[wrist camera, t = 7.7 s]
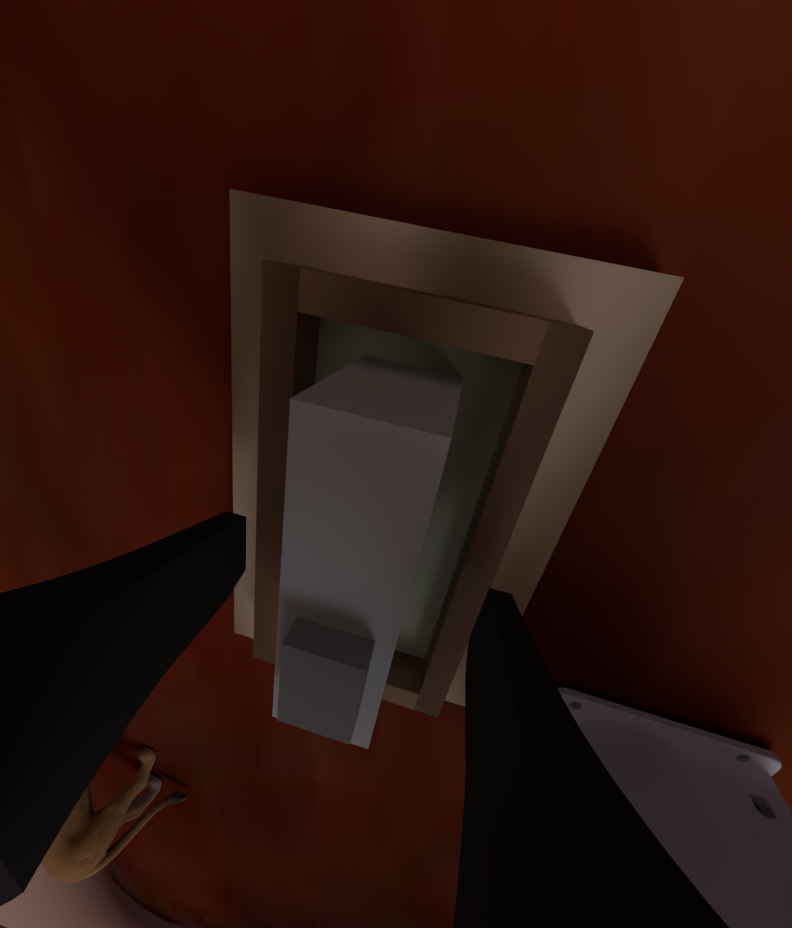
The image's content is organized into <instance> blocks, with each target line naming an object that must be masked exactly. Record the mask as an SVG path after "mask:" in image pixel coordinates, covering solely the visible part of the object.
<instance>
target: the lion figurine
mask: <svg viewBox="0 0 792 928" xmlns="http://www.w3.org/2000/svg"><path fill="white" fill-rule="evenodd" d="M155 757H156V755H155V753H154V751H153V750H152V749H150V748H148V747H145V748H142V749H141V750H140V751H139V753H138V758H139V759H140V761H141V768H140V771H139V773H138V775H137V777H136V778H135V779H134V781H133V782H132V783H131V784H130V785H129V786H128V787H127V788H126V789H124V790H123V791H122V792H121V793H120V794H118V795H117V796H116V797H115V798H114V799H112V800H111V801H110V802H109V803H108V804H107V805H106V806H105V807H104V808H103V809H101V810H99V811H97V812H94V810H93V807H92V800H91V791H90V788H89V786H88V787H87V788H86V790H85V791H84V793H83V795H82V796H81V798H80V799H79V801H78V802H77V804H76V805H75V807H74V809H73V810H72V812H71V813H70V815H69V817H68V818H67V820H66V822H65V823H64V825H63V827H62V828H61V830H60V832H59V833H58V835H57V837H56V838H55V840H54V841H53V843H52V845H51V846H50V848H49V850H48V851H47V853H46V855H45V856H44V858H43V860H42V863H43V865H44V866H45V868H46V870H47V871H48V873H49V874H50V875H51V876H53V877H54V878H55V879H57V880H59V881H62V882H68V883H72V882H77V881H80V880H83V879H85V878H88V877H90V876H92V875H93V874H95V873H97V872H98V871H99V870H101V869H102V868H103V867H104V866H106V865H107V864H108V863H109V862H110V861H111V860H112V859H113V858H114V857H115V856H116V855H117V854H118V853H119V852H120V851H121V850H122V849H123V848H124V847H125V846H126V845H127V844H128V843H129V842H130V840H131V839H132V838H133V837H134V836H135V835H136V834H137V832H138V831H139V830H140V829H141V828H142V827H143V826H144V825H145V824H146V823H147V822H148V820H149V819H150V818H151V817H152V816H153V815H154V814H155V813H157V812H158V811H159V810H161V809H162V808H163V807H165V806H167V805H170V804H174V803H178V802H180V801H183V800H185V799H186V798H187V796H186V795H185V794H183V793H182V792H175V793H172V794H170V795H168V796H166V797H165V798H163V799H162V800H161V801H160V802H158V803H157V804H156V805H155V806H153V807H152V808H151V809H150V810H149V811H148V812H147V813H146V814H145V815H144V816H142V817H141V818H140V819H139V820H138V821H137V822H136V823H135V824H134V825H133V826H132V827H131V828H130V829H129V830H128V831H127V832H126V833H125V834H124V835H123V836H122V837H121V838H120V839H119V840H118V841H117V842H116V843H115V844H114V845H113V846H112V847H111V848H110V849H109V850H108V851H107V849H108V847H109V846H110V844H111V842H112V840H113V839H114V837H115V835H116V833H117V831H118V829H119V827H120V826H121V825H122V824H124V823H125V822H127V821H129V820H132V819H134V818H137V817H138V816H139V815H140V814H141V813H142V812H143V811H144V810H145V808H146V807H147V806H148V805H149V804H150V802H151V801H152V800H153V799H154V798H155V796H156V795H157V794H158V792H159V790H160V788H161V784H162V783H161V781H160V780H159V779H158V778H157V777H156V776H154V775H149V774H150V771H151V768H152V766H153V764H154V761H155ZM145 786H147V791H146V793H145V794H144V795H143V796H141V797H140V798H138V799H135V800H133V799H134V798H135V796H136V795H137V794H138V793H139V792H140V791H142V789H143V788H144V787H145ZM132 800H133V801H132Z"/></svg>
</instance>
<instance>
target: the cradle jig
mask: <svg viewBox="0 0 792 928" xmlns="http://www.w3.org/2000/svg"><path fill="white" fill-rule="evenodd" d="M230 275H231V362H232V450H233V513H235V514H238V515H242V516H245V517H246V570H245V572H244V573H243V575H242V577H241V578H240V580H239V581H238V583H237V585H236V586H235V588H234V625H235V633H238V634H241V635H244V636H247V637H250V638H253V639H254V644H253V657H255V658H258V659H261V660H264V661H267V662H270V663H273V664H275V661H276V643H277V625H278V607H279V590H280V572H281V554H282V536H283V518H284V500H285V482H286V465H287V447H288V429H289V411H290V398H292V397H294V396H295V395H297V394H299V393H301V392H302V391H304V390H306V389H308V388H309V387H311V386H313V385H314V384H316V383H318V382H320V381H321V380H323V379H325V378H327V377H328V376H330V375H332V374H334V373H335V372H337V371H339V370H340V369H342V368H344V367H346V366H347V365H349V364H351V363H353V362H354V361H356V360H358V359H360V358H361V357H363V356H365V355H366V356H371V357H375V358H380V359H384V360H388V361H393V362H397V363H401V364H406V365H410V366H414V367H419V368H423V369H428V370H432V371H436V372H441V373H445V374H449V375H454V376H458V377H462V378H463V383H462V389H461V394H460V399H459V404H458V409H457V414H456V419H455V424H454V429H453V434H452V439H451V443H450V447H449V450H448V454H447V458H446V461H445V465H444V469H443V472H442V476H441V480H440V484H439V487H438V491H437V495H436V498H435V502H434V506H433V510H432V513H431V517H430V521H429V524H428V528H427V532H426V536H425V539H424V543H423V547H422V550H421V554H420V558H419V562H418V565H417V569H416V573H415V576H414V580H413V584H412V588H411V591H410V595H409V599H408V602H407V606H406V610H405V614H404V617H403V621H402V625H401V628H400V632H399V636H398V639H397V643H396V647H395V651H394V654H393V658H392V662H391V665H390V669H389V673H388V677H387V680H386V684H385V688H384V691H383V695H382V699H383V700H386V701H389V702H392V703H395V704H398V705H401V706H404V707H407V708H410V709H413V710H416V711H420V712H423V713H426V714H429V715H432V716H435V717H438V716H439V713H440V711H441V708H442V706H443V704H444V701H445V700H446V701H449V702H452V703H455V704H458V705H461V706H464V707H465V672H466V662H467V652H468V643H469V637H470V635H471V632H472V630H473V627H474V625H475V622H476V620H477V617H478V615H479V612H480V610H481V607H482V605H483V602H484V600H485V597H486V595H487V592H488V590H489V588H493V589H496V590H500V591H503V592H507V593H510V594H512V595H513V597H514V599H515V601H516V604H517V606H518V608H519V611H520V613H521V615H523V613H524V611H525V609H526V607H527V605H528V603H529V601H530V599H531V597H532V595H533V592H534V590H535V588H536V586H537V584H538V582H539V580H540V578H541V576H542V574H543V572H544V569H545V567H546V565H547V563H548V561H549V559H550V557H551V555H552V553H553V551H554V549H555V546H556V544H557V542H558V540H559V538H560V536H561V534H562V532H563V530H564V528H565V526H566V523H567V521H568V519H569V517H570V515H571V513H572V511H573V509H574V507H575V505H576V503H577V501H578V498H579V496H580V494H581V492H582V490H583V488H584V486H585V484H586V482H587V480H588V478H589V475H590V473H591V471H592V469H593V467H594V465H595V463H596V461H597V459H598V457H599V455H600V452H601V450H602V448H603V446H604V444H605V442H606V440H607V438H608V436H609V434H610V432H611V429H612V427H613V425H614V423H615V421H616V419H617V417H618V415H619V413H620V411H621V409H622V406H623V404H624V402H625V400H626V398H627V396H628V394H629V392H630V390H631V388H632V386H633V383H634V381H635V379H636V377H637V375H638V373H639V371H640V369H641V367H642V365H643V363H644V361H645V358H646V356H647V354H648V352H649V350H650V348H651V346H652V344H653V342H654V340H655V338H656V335H657V333H658V331H659V329H660V327H661V325H662V323H663V321H664V319H665V317H666V315H667V312H668V310H669V308H670V306H671V304H672V302H673V300H674V298H675V296H676V294H677V292H678V289H679V287H680V285H681V283H682V281H683V279H684V278H683V277H678V276H673V275H668V274H663V273H658V272H653V271H648V270H643V269H637V268H632V267H627V266H622V265H617V264H612V263H607V262H602V261H597V260H592V259H586V258H581V257H576V256H571V255H566V254H561V253H556V252H551V251H546V250H540V249H535V248H530V247H525V246H520V245H515V244H510V243H505V242H500V241H495V240H489V239H484V238H479V237H474V236H469V235H464V234H459V233H454V232H449V231H444V230H438V229H433V228H428V227H423V226H418V225H413V224H408V223H403V222H398V221H393V220H387V219H382V218H377V217H372V216H367V215H362V214H357V213H352V212H347V211H342V210H336V209H331V208H326V207H321V206H316V205H311V204H306V203H301V202H296V201H291V200H285V199H280V198H275V197H270V196H265V195H260V194H255V193H250V192H245V191H240V190H234V189H230Z"/></svg>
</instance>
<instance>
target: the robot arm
mask: <svg viewBox="0 0 792 928" xmlns="http://www.w3.org/2000/svg"><path fill="white" fill-rule="evenodd" d="M245 570H246V517H245V516H242V515H238V514H235V513H232V512H228V511H227V512H224V513H222V514H219V515H217V516H214V517H212V518H210V519H207V520H205V521H203V522H200V523H198V524H196V525H194V526H191V527H189V528H187V529H185V530H182V531H180V532H178V533H175V534H173V535H171V536H168V537H166V538H164V539H161V540H159V541H157V542H154V543H152V544H149V545H147V546H144V547H142V548H139V549H137V550H134V551H132V552H129V553H126V554H124V555H121V556H119V557H116V558H114V559H111V560H108V561H106V562H103V563H100V564H97V565H94V566H91V567H89V568H86V569H83V570H80V571H76V572H73V573H70V574H67V575H64V576H61V577H57V578H54V579H51V580H48V581H44V582H41V583H37V584H33V585H29V586H25V587H22V588H18V589H14V590H10V591H7V592H3V593H0V906H1V905H3V904H5V903H7V902H9V901H11V900H12V899H14V898H16V897H17V896H18V895H20V894H21V893H23V892H24V890H25V889H26V887H27V885H28V883H29V882H30V880H31V878H32V876H33V875H34V873H35V871H36V870H37V868H38V866H39V865H40V863H41V861H42V860H43V858H44V856H45V855H46V853H47V851H48V850H49V848H50V846H51V845H52V843H53V841H54V840H55V838H56V837H57V835H58V833H59V832H60V830H61V828H62V827H63V825H64V823H65V822H66V820H67V818H68V817H69V815H70V813H71V812H72V810H73V809H74V807H75V805H76V804H77V802H78V801H79V799H80V798H81V796H82V795H83V793H84V791H85V790H86V788H87V787H88V785H89V784H90V782H91V780H92V779H93V777H94V776H95V774H96V773H97V771H98V769H99V768H100V766H101V765H102V763H103V762H104V760H105V759H106V757H107V756H108V754H109V753H110V751H111V750H112V748H113V747H114V745H115V744H116V742H117V741H118V739H119V738H120V736H121V735H122V733H123V732H124V730H125V729H126V727H127V726H128V724H129V723H130V721H131V720H132V719H133V717H134V716H135V714H136V713H137V711H138V710H139V709H140V707H141V706H142V704H143V703H144V702H145V700H146V699H147V697H148V696H149V694H150V693H151V692H152V690H153V689H154V687H155V686H156V684H157V683H158V682H159V681H160V679H161V678H162V677H163V675H164V674H165V673H166V672H167V670H168V669H169V668H170V667H171V665H172V664H173V663H174V662H175V661H176V659H177V658H178V657H179V656H180V655H181V654H182V652H183V651H184V650H185V649H186V648H187V646H188V645H189V644H190V643H191V642H192V641H193V639H194V638H195V637H196V636H197V635H198V633H199V632H200V631H201V630H202V629H203V627H204V626H205V625H206V624H207V623H208V622H209V620H210V619H211V618H212V617H213V616H214V614H215V613H216V612H217V611H218V609H219V608H220V607H221V606H222V605H223V603H224V602H225V601H226V600H227V598H228V597H229V595H230V594H231V592H232V591H233V589H234V588H235V586H236V585H237V583H238V581H239V580H240V578H241V577H242V575H243V573H244V572H245ZM465 736H466V779H465V800H464V814H463V827H462V840H461V852H460V864H459V875H458V887H457V898H456V908H455V918H454V928H792V812H791V810H790V808H789V807H788V805H787V803H786V802H785V800H784V798H783V797H782V795H781V793H780V791H779V790H778V788H777V786H776V785H775V783H774V781H773V780H772V778H771V776H772V775H774V774H775V773H776V772H777V771H778V770H780V768H781V767H782V764H781V762H780V760H779V759H778V757H777V756H776V754H775V753H773V752H771V751H769V750H766V749H763V748H759V747H756V746H753V745H750V744H746V743H743V742H740V741H737V740H734V739H730V738H727V737H724V736H721V735H717V734H714V733H711V732H708V731H704V730H701V729H698V728H695V727H691V726H688V725H685V724H682V723H679V722H675V721H672V720H669V719H666V718H662V717H659V716H656V715H653V714H649V713H646V712H643V711H640V710H637V709H633V708H630V707H627V706H624V705H620V704H617V703H614V702H611V701H607V700H604V699H601V698H598V697H594V696H591V695H588V694H585V693H582V692H578V691H575V690H572V689H569V688H565V687H558V688H557V687H556V685H555V683H554V681H553V680H552V678H551V676H550V674H549V672H548V670H547V668H546V666H545V664H544V662H543V660H542V658H541V656H540V654H539V652H538V650H537V648H536V646H535V644H534V642H533V640H532V637H531V635H530V633H529V631H528V629H527V626H526V624H525V622H524V620H523V618H522V615H521V613H520V611H519V608H518V606H517V604H516V601H515V599H514V597H513V595H512V594H510V593H507V592H503V591H500V590H496V589H493V588H489V590H488V592H487V595H486V597H485V600H484V602H483V605H482V607H481V610H480V612H479V615H478V617H477V620H476V622H475V625H474V627H473V630H472V632H471V635H470V637H469V643H468V652H467V662H466V672H465ZM0 928H6V927H4V926H1V925H0Z"/></svg>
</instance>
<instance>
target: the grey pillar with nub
mask: <svg viewBox="0 0 792 928" xmlns="http://www.w3.org/2000/svg"><path fill="white" fill-rule="evenodd" d="M462 383H463V378H462V377H458V376H454V375H449V374H445V373H441V372H436V371H432V370H428V369H423V368H419V367H414V366H410V365H406V364H401V363H397V362H393V361H388V360H384V359H380V358H375V357H371V356H366V355H365V356H363V357H361V358H360V359H358V360H356V361H354V362H353V363H351V364H349V365H347V366H346V367H344V368H342V369H340V370H339V371H337V372H335V373H334V374H332V375H330V376H328V377H327V378H325V379H323V380H321V381H320V382H318V383H316V384H314V385H313V386H311V387H309V388H308V389H306V390H304V391H302V392H301V393H299V394H297V395H295V396H294V397H292V398H290V411H289V429H288V447H287V465H286V482H285V500H284V518H283V536H282V554H281V572H280V590H279V607H278V625H277V643H276V661H275V679H274V697H273V715H272V717H275V718H277V720H278V721H281V722H284V723H287V724H290V725H293V726H296V727H299V728H302V729H304V730H307V731H310V732H313V733H316V734H319V735H322V736H325V737H328V738H331V739H334V740H337V741H340V742H343V743H346V744H349V745H350V743H352V744H355V745H358V746H361V747H364V748H367V749H368V747H369V743H370V740H371V736H372V732H373V729H374V725H375V721H376V717H377V714H378V710H379V706H380V703H381V699H382V695H383V691H384V688H385V684H386V680H387V677H388V673H389V669H390V665H391V662H392V658H393V654H394V651H395V647H396V643H397V639H398V636H399V632H400V628H401V625H402V621H403V617H404V614H405V610H406V606H407V602H408V599H409V595H410V591H411V588H412V584H413V580H414V576H415V573H416V569H417V565H418V562H419V558H420V554H421V550H422V547H423V543H424V539H425V536H426V532H427V528H428V524H429V521H430V517H431V513H432V510H433V506H434V502H435V498H436V495H437V491H438V487H439V484H440V480H441V476H442V472H443V469H444V465H445V461H446V458H447V454H448V450H449V447H450V443H451V439H452V434H453V429H454V424H455V419H456V414H457V409H458V404H459V399H460V394H461V389H462Z"/></svg>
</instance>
